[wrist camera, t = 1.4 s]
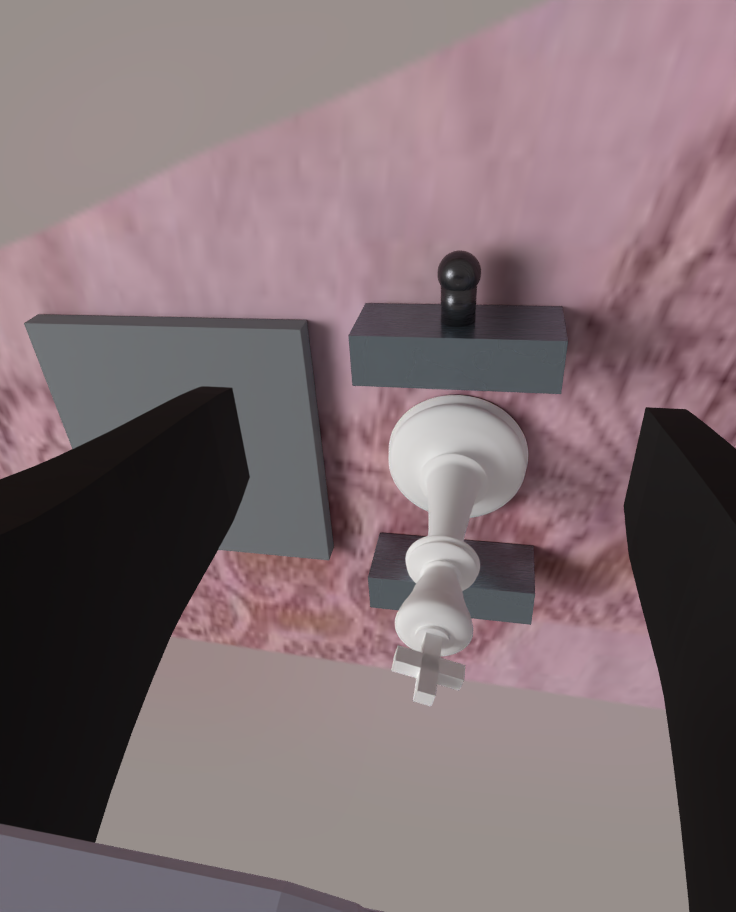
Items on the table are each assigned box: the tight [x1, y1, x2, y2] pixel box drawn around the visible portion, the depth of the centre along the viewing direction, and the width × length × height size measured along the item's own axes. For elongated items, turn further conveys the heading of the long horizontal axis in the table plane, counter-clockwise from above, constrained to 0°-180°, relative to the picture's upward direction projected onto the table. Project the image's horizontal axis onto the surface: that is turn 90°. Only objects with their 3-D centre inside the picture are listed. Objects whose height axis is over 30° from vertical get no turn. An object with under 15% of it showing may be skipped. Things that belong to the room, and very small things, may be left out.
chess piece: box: [389, 395, 528, 706], centre depth 19 cm, size 5×5×10 cm
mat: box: [24, 314, 334, 560], centre depth 24 cm, size 10×10×1 cm
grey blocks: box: [349, 251, 568, 625], centre depth 21 cm, size 6×13×2 cm, turn 3°
